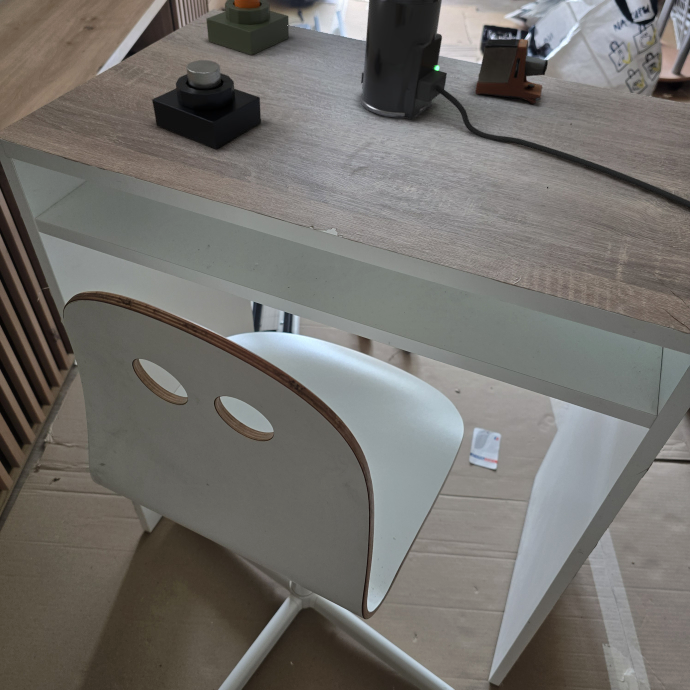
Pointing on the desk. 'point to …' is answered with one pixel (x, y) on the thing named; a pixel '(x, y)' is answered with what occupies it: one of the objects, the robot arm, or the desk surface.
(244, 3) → the button far
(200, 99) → the block near
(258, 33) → the block far
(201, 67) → the button near
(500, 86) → the electronic device
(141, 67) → the desk surface
